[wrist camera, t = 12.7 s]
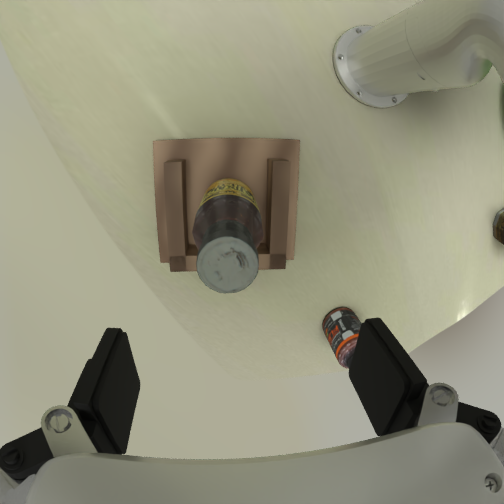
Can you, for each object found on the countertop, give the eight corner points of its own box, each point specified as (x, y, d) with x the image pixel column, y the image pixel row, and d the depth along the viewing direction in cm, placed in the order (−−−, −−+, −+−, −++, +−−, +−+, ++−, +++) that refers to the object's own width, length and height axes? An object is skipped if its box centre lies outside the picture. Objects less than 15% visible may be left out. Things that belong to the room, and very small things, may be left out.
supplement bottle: (322, 308, 47) (347, 353, 36) (356, 303, 47) (386, 344, 37) (320, 338, 49) (341, 384, 38) (352, 332, 49) (378, 375, 39)
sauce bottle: (255, 178, 37) (293, 222, 18) (250, 226, 39) (279, 309, 21) (202, 174, 36) (185, 214, 18) (199, 223, 38) (183, 306, 20)
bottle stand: (296, 139, 37) (308, 140, 32) (291, 255, 43) (300, 271, 38) (155, 140, 35) (145, 141, 30) (162, 258, 41) (155, 275, 36)
